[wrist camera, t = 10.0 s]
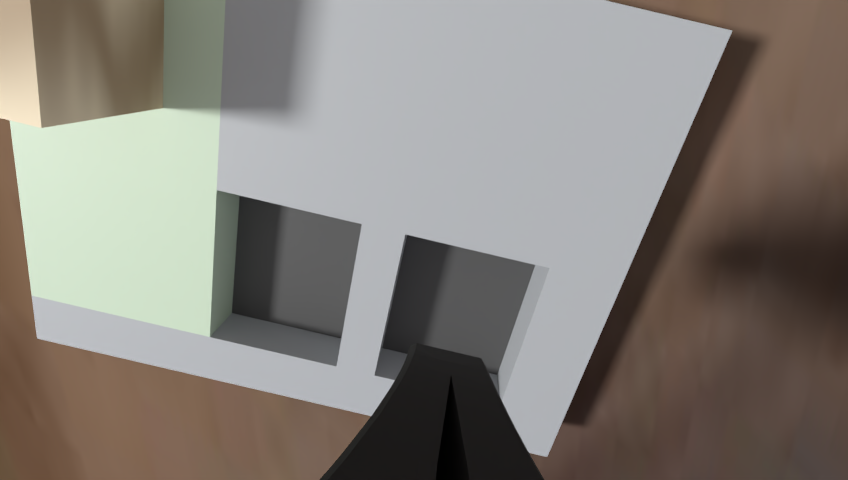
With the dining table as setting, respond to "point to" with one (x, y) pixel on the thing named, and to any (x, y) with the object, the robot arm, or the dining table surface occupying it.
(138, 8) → the maple block
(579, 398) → the dining table surface
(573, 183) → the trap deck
